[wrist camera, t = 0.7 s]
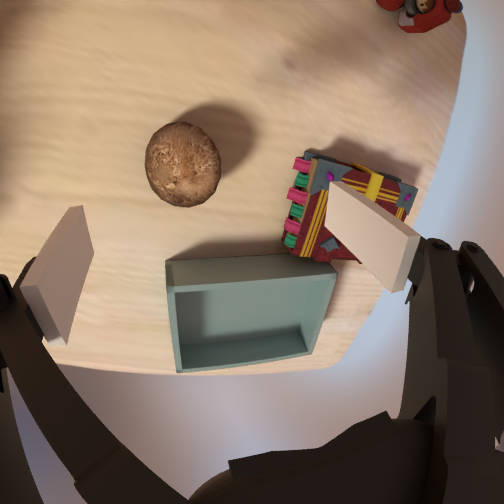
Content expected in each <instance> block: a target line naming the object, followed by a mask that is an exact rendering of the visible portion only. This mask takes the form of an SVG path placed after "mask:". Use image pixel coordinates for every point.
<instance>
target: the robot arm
mask: <svg viewBox="0 0 504 504" xmlns="http://www.w3.org/2000/svg"><path fill="white" fill-rule="evenodd" d="M325 227H326V228H327V229H328V230H329V231H330V232H331V233H332V234H333V235H335V236H336V237H337V238H338V239H339V240H340V241H341V242H342V243H343V244H344V245H345V246H346V247H347V248H348V249H349V250H350V251H351V252H352V253H353V254H354V255H355V256H356V257H357V258H358V259H359V260H360V261H361V262H362V264H363V265H364V266H365V267H366V268H367V269H368V270H369V271H370V272H371V273H372V274H373V275H374V276H375V277H376V278H377V279H378V280H379V281H380V282H381V283H382V284H383V285H384V286H385V288H386V289H387V290H388V291H389V292H390V293H394V292H398V291H402V290H404V287H405V284H406V281H407V278H408V279H409V280H410V281H411V282H412V286H411V288H410V291H409V294H408V296H407V299H406V301H405V304H407V303H408V301H410V310H409V311H410V312H409V334H408V349H407V361H406V371H405V380H404V389H403V395H402V403H401V409H400V413H399V416H398V418H397V419H391V418H390V416H389V415H388V413H387V411H384V412H382V413H380V414H378V415H376V416H373V417H371V418H369V419H366V420H364V421H362V422H359V423H356V424H354V425H353V426H351V427H350V428H348V429H347V430H345V431H344V432H343V433H341V434H340V435H338V436H337V437H336V438H334V439H332V440H331V441H329V442H328V443H327V444H325V445H323V446H322V447H319V448H315V449H303V450H288V451H270V452H266V453H262V454H258V455H253V456H249V457H244V458H239V459H234V460H229V461H228V463H229V468H230V469H228V470H226V471H224V472H222V473H220V474H218V475H216V476H214V477H213V478H211V479H209V480H208V481H207V482H205V483H204V484H203V485H202V486H201V487H199V488H198V489H197V490H196V491H195V492H194V494H193V495H192V496H191V497H190V498H189V500H187V499H186V498H185V497H183V496H182V495H181V494H179V493H178V492H177V491H175V490H174V489H173V488H171V487H170V486H169V485H168V484H167V483H165V482H164V481H163V480H162V479H161V478H159V477H158V476H157V475H156V474H155V473H153V472H152V471H151V470H150V469H149V468H148V467H147V466H146V465H144V464H143V463H142V462H141V461H140V460H139V459H138V458H137V457H136V456H135V455H134V454H133V453H132V452H131V451H130V450H129V449H127V448H126V447H125V446H124V445H123V444H122V443H121V442H120V441H119V440H118V439H117V438H116V437H115V436H114V435H113V434H112V433H111V432H110V431H109V430H108V429H107V428H106V426H105V425H104V424H103V423H102V422H101V421H100V420H99V419H98V417H97V416H96V415H95V414H94V413H93V412H92V411H91V409H90V408H89V407H88V406H87V405H86V403H85V402H84V401H83V400H82V398H81V397H80V396H79V395H78V393H77V392H76V391H75V390H74V388H73V387H72V385H71V384H70V383H69V382H68V380H67V379H66V378H65V376H64V375H63V373H62V372H61V370H60V369H59V368H58V366H57V365H56V363H55V362H54V360H53V359H52V357H51V356H50V354H49V353H48V351H47V350H46V348H45V347H44V345H43V343H42V339H43V336H44V337H45V339H46V340H47V342H48V344H49V345H50V346H67V342H68V338H69V334H70V330H71V326H72V322H73V318H74V315H75V311H76V308H77V304H78V301H79V297H80V294H81V291H82V288H83V284H84V281H85V278H86V275H87V272H88V269H89V266H90V263H91V261H92V258H93V255H94V250H93V247H92V243H91V239H90V235H89V231H88V227H87V222H86V218H85V213H84V209H83V205H81V206H75V207H70V208H69V209H68V210H67V212H66V213H65V214H64V216H63V217H62V219H61V220H60V222H59V223H58V225H57V226H56V227H55V229H54V230H53V232H52V233H51V235H50V236H49V238H48V240H47V241H46V243H45V244H44V246H43V247H42V249H41V251H40V252H39V254H38V255H37V257H33V258H32V259H31V260H30V261H29V262H28V263H27V264H26V265H25V267H24V269H23V270H22V273H21V274H20V275H19V277H18V278H19V279H17V281H16V282H15V284H14V286H13V288H12V287H11V284H10V282H9V280H8V278H7V276H6V275H4V274H0V504H44V503H43V501H42V499H41V496H40V494H39V491H38V489H37V486H36V484H35V481H34V479H33V476H32V474H31V471H30V468H29V465H28V462H27V459H26V456H25V453H24V449H23V446H22V443H21V439H20V435H19V432H18V428H17V424H16V420H15V415H14V411H13V406H12V401H11V396H10V390H9V384H8V377H7V371H6V367H8V368H9V371H10V373H11V375H12V377H13V379H14V381H15V384H16V386H17V388H18V390H19V392H20V394H21V396H22V398H23V400H24V402H25V403H26V405H27V407H28V409H29V411H30V413H31V414H32V416H33V418H34V420H35V421H36V423H37V425H38V426H39V428H40V430H41V431H42V433H43V435H44V436H45V438H46V439H47V441H48V442H49V444H50V445H51V447H52V448H53V450H54V451H55V453H56V454H57V456H58V457H59V459H60V460H61V461H62V463H63V464H64V465H65V467H66V468H67V470H68V471H69V472H70V473H71V475H72V476H73V478H74V480H75V482H74V486H75V488H76V489H77V491H78V492H79V494H80V495H81V496H82V498H83V499H84V500H85V501H86V502H87V503H88V504H504V277H503V276H502V274H501V273H500V272H499V270H498V269H497V267H496V266H495V265H494V263H493V262H492V261H491V259H490V258H489V257H488V255H487V254H486V253H485V252H484V250H483V249H482V248H481V247H480V246H478V245H477V244H476V243H474V242H469V241H463V242H462V244H461V247H460V249H459V251H457V250H452V248H451V246H450V245H449V244H447V243H446V242H444V241H443V240H440V239H435V238H429V239H427V240H426V239H425V238H423V237H422V236H421V235H420V234H418V233H417V232H416V231H414V230H413V229H412V228H410V227H409V226H408V225H406V224H405V223H404V222H402V221H401V220H399V219H398V218H397V217H395V216H394V215H392V214H391V213H389V212H388V211H386V210H385V209H384V208H382V207H381V206H379V205H378V204H376V203H375V202H373V201H372V200H370V199H369V198H367V197H366V196H364V195H363V194H361V193H359V192H358V191H356V190H355V189H353V188H352V187H350V186H348V185H347V184H345V183H344V182H342V181H330V186H329V194H328V203H327V211H326V218H325ZM473 281H474V287H473V290H472V292H471V291H470V287H471V285H472V282H473ZM495 437H496V439H497V441H498V443H499V445H498V446H497V447H496V448H495Z"/></svg>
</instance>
